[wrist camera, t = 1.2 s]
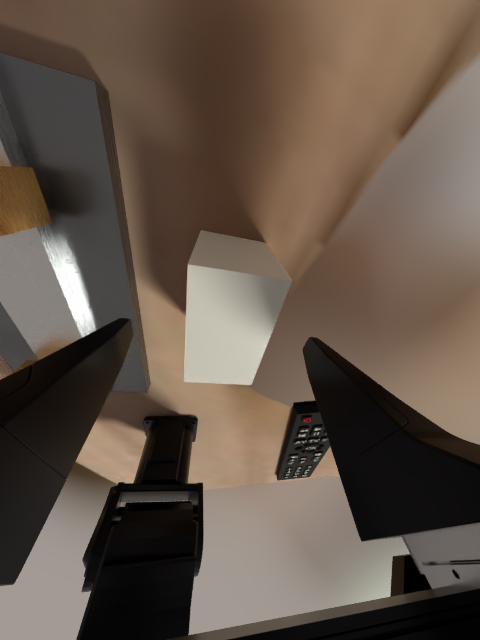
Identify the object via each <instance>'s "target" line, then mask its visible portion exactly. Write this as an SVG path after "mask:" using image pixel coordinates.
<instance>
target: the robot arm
mask: <svg viewBox="0 0 480 640" xmlns="http://www.w3.org/2000/svg"><path fill="white" fill-rule="evenodd" d="M132 338H133V327H132V322H131V319H129V318H119V319H117V320H115V321H113V322H111V323H109V324H107V325H105V326H103V327H101V328H99V329H98V330H96V331H94V332H92V333H90V334H88V335H86V336H84V337H82V338H80V339H78V340H76V341H75V342H73V343H71V344H69V345H67V346H65V347H63V348H61V349H59V350H57V351H55V352H53V353H52V354H50V355H48V356H46V357H44V358H42V359H40V360H38V361H36V362H34V363H33V365H28V366H27V367H25V368H23V369H21V370H19V371H17V372H15V373H13V374H11V375H9V376H7V377H5V378H3V379H1V380H0V586H4V585H13V584H14V583H15V581H16V579H17V578H18V576H19V574H20V572H21V570H22V568H23V566H24V564H25V562H26V560H27V558H28V556H29V554H30V552H31V550H32V548H33V546H34V544H35V542H36V540H37V538H38V536H39V534H40V531H41V530H42V528H43V526H44V524H45V522H46V520H47V517H48V515H49V513H50V511H51V510H52V508H53V506H54V504H55V502H56V500H57V497H58V495H59V494H60V492H61V489H62V487H63V485H64V483H65V481H66V478H67V477H68V475H69V473H70V471H71V469H72V467H73V465H74V463H75V461H76V459H77V457H78V455H79V453H80V451H81V449H82V447H83V445H84V443H85V441H86V439H87V437H88V435H89V433H90V431H91V429H92V427H93V425H94V423H95V421H96V419H97V417H98V415H99V413H100V411H101V409H102V407H103V405H104V403H105V401H106V399H107V397H108V395H109V393H110V391H111V389H112V387H113V385H114V383H115V381H116V378H117V376H118V374H119V372H120V370H121V368H122V366H123V364H124V361H125V358H126V355H127V352H128V350H129V347H130V344H131V341H132ZM303 355H304V359H305V364H306V369H307V374H308V378H309V381H310V384H311V387H312V390H313V394H314V397H315V400H316V403H317V406H318V409H319V412H320V415H321V418H322V421H323V425H324V428H325V431H326V434H327V437H328V440H329V443H330V446H331V449H332V453H333V456H334V459H335V462H336V465H337V468H338V472H339V475H340V478H341V481H342V484H343V487H344V490H345V493H346V496H347V499H348V502H349V506H350V508H351V512H352V515H353V518H354V521H355V524H356V528H357V531H358V533H359V536H360V538H361V541H371V540H380V539H387V538H396V537H402V538H403V540H404V542H405V544H406V546H407V548H408V550H409V552H410V554H406V555H399V556H393V561H392V579H391V597H387V598H382V599H377V600H371V601H366V602H361V603H356V604H350V605H346V606H340V607H335V608H329V609H324V610H319V611H314V612H309V613H304V614H298V615H293V616H288V617H282V618H277V619H272V620H267V621H262V622H257V623H251V624H246V625H241V626H235V627H230V628H225V629H220V630H214V631H209V632H204V633H199V634H194V635H188V633H189V621H190V607H191V598H192V590H193V581H194V577H196V576H197V575H198V573H199V569H200V565H201V559H202V551H203V483H197V484H188V475H189V466H190V457H191V448H192V442H194V441H195V438H196V430H197V423H198V419H197V418H168V417H146V418H144V421H143V424H144V428H145V432H146V437H147V438H146V442H145V445H144V449H143V452H142V456H141V459H140V463H139V466H138V470H137V473H136V477H135V480H134V483H133V484H124V483H125V482H119V483H118V486H114V487H111V489H110V492H109V495H108V497H107V500H106V503H105V506H104V508H103V511H102V513H101V516H100V518H99V520H98V523H97V525H96V528H95V530H94V533H93V535H92V537H91V539H90V542H89V544H88V547H87V549H86V551H85V554H84V557H83V563H84V566H85V569H86V570H85V574H84V577H85V581H84V584H83V588H82V592H88V591H91V594H90V597H89V600H88V604H87V607H86V610H85V613H84V617H83V620H82V623H81V626H80V630H79V633H78V636H77V640H480V445H478V444H475V443H471V442H469V441H466V440H463V439H461V438H458V437H456V436H454V435H452V434H450V433H448V432H447V431H445V430H444V429H442V428H440V427H439V426H437V425H436V424H435V423H433V422H432V421H430V420H429V419H427V418H426V417H424V416H423V415H421V414H420V413H418V412H417V411H416V410H414V409H413V408H411V407H410V406H408V405H407V404H405V403H404V402H402V401H401V400H400V399H398V398H397V397H395V396H394V395H393V394H391V393H390V392H389V391H387V390H386V389H385V388H383V387H382V386H381V385H379V384H377V382H375V381H374V380H373V379H371V378H370V377H369V376H367V375H366V374H364V373H363V372H362V371H361V370H359V369H358V368H357V367H355V366H354V365H353V364H351V363H350V362H349V361H347V360H346V359H345V358H343V357H342V356H340V355H339V354H338V353H337V352H335V351H334V350H333V349H332V348H330V347H329V346H327V345H326V344H325V343H324V342H322V341H321V340H319V339H318V338H315V337H310V338H308V340H307V342H306V344H305V346H304V347H303ZM182 500H188V501H182ZM139 501H172V502H139ZM174 501H175V502H174ZM121 502H132V503H126V505H125V507H120V503H121Z"/></svg>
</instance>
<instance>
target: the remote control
mask: <svg viewBox="0 0 480 640" xmlns="http://www.w3.org/2000/svg"><path fill="white" fill-rule="evenodd" d="M292 408H294V411H293V415H292V418H291V422H290V426H289V430H288V433H287V437H286V441H285V445H284V448H283V452H282V456H281V460H280V463H279V467H278V471H277V474H276V475H277V480H286V479H295V478H305V477H310V476H311V474H312V473H313V471H314V470H315V468H316V467H317V465H318V464H319V462H320V461H321V459H322V458H323V456H324V455H325V453H326V452H327V450H328V449H329V447H330V443H329V440H328V437H327V434H326V431H325V428H324V425H323V421H322V418H321V415H320V412H319V409H318V406H317V403H316V400H315V401H304V402H294V403H293V407H292Z"/></svg>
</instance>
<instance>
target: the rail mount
mask: <svg viewBox="0 0 480 640" xmlns="http://www.w3.org/2000/svg"><path fill="white" fill-rule="evenodd" d="M119 318H129V319H131V322H132V327H133V338H132V341H131V344H130V347H129V350H128V352H127V355H126V358H125V361H124V364H123V366H122V368H121V370H120V372H119V374H118V376H117V378H116V381H115V383H114V385H113V387H112V389H111V391H119V392H146V393H147V392H148V389H149V387H150V377H149V370H148V363H147V356H146V349H145V343H144V336H143V329H142V322H141V315H140V308H139V301H138V295H137V288H136V281H135V274H134V267H133V260H132V253H131V247H130V240H129V233H128V226H127V219H126V212H125V205H124V199H123V192H122V185H121V178H120V171H119V164H118V157H117V151H116V144H115V137H114V130H113V123H112V116H111V110H110V103H109V96H108V91H107V90H105V89H104V88H103V87H101V86H100V85H99V84H98V83H96V82H95V81H92V80H89V79H86V78H83V77H79V76H76V75H73V74H69V73H66V72H63V71H60V70H56V69H53V68H50V67H46V66H43V65H40V64H37V63H33V62H30V61H27V60H23V59H20V58H17V57H13V56H10V55H7V54H4V53H0V355H1V356H2V357H3V359H4V360H5V361H6V362H7V364H8V365H9V366H10V367H11V368H12V370H13V371H14V372H13V373H15V372H17V371H19V370H21V369H23V368H25V367H27V366H28V365H33V363H34V362H36V361H38V360H40V359H42V358H44V357H46V356H48V355H50V354H52V353H53V352H55V351H57V350H59V349H61V348H63V347H65V346H67V345H69V344H71V343H73V342H75V341H76V340H78V339H80V338H82V337H84V336H86V335H88V334H90V333H92V332H94V331H96V330H98V329H99V328H101V327H103V326H105V325H107V324H109V323H111V322H113V321H115V320H117V319H119ZM13 373H12V374H13ZM111 391H110V393H111ZM110 393H109V394H110ZM108 396H109V395H108ZM107 398H108V397H107Z"/></svg>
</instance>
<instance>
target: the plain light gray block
mask: <svg viewBox="0 0 480 640" xmlns="http://www.w3.org/2000/svg"><path fill="white" fill-rule="evenodd" d="M291 283H292V279H291V278H290V277H289V275H288V274H287V272H286V271H285V269H284V268H283V266H282V265H281V264H280V262H279V261H278V259H277V258H276V256H275V255H274V254H273V252H272V251H271V249H270V248H269V246H268V245H267V244H266V243H265V242H260V241H254V240H249V239H244V238H239V237H234V236H229V235H223V234H218V233H213V232H208V231H203V230H201V231H200V233H199V236H198V239H197V241H196V244H195V246H194V249H193V252H192V254H191V257H190V259H189V262H188V269H187V301H186V332H185V363H184V382H197V383H220V384H242V385H251V384H252V382H253V379H254V377H255V374H256V372H257V369H258V367H259V364H260V362H261V359H262V356H263V354H264V351H265V349H266V346H267V344H268V341H269V339H270V336H271V334H272V331H273V328H274V326H275V324H276V321H277V318H278V316H279V313H280V311H281V308H282V306H283V303H284V301H285V298H286V296H287V293H288V291H289V288H290V285H291Z"/></svg>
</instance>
